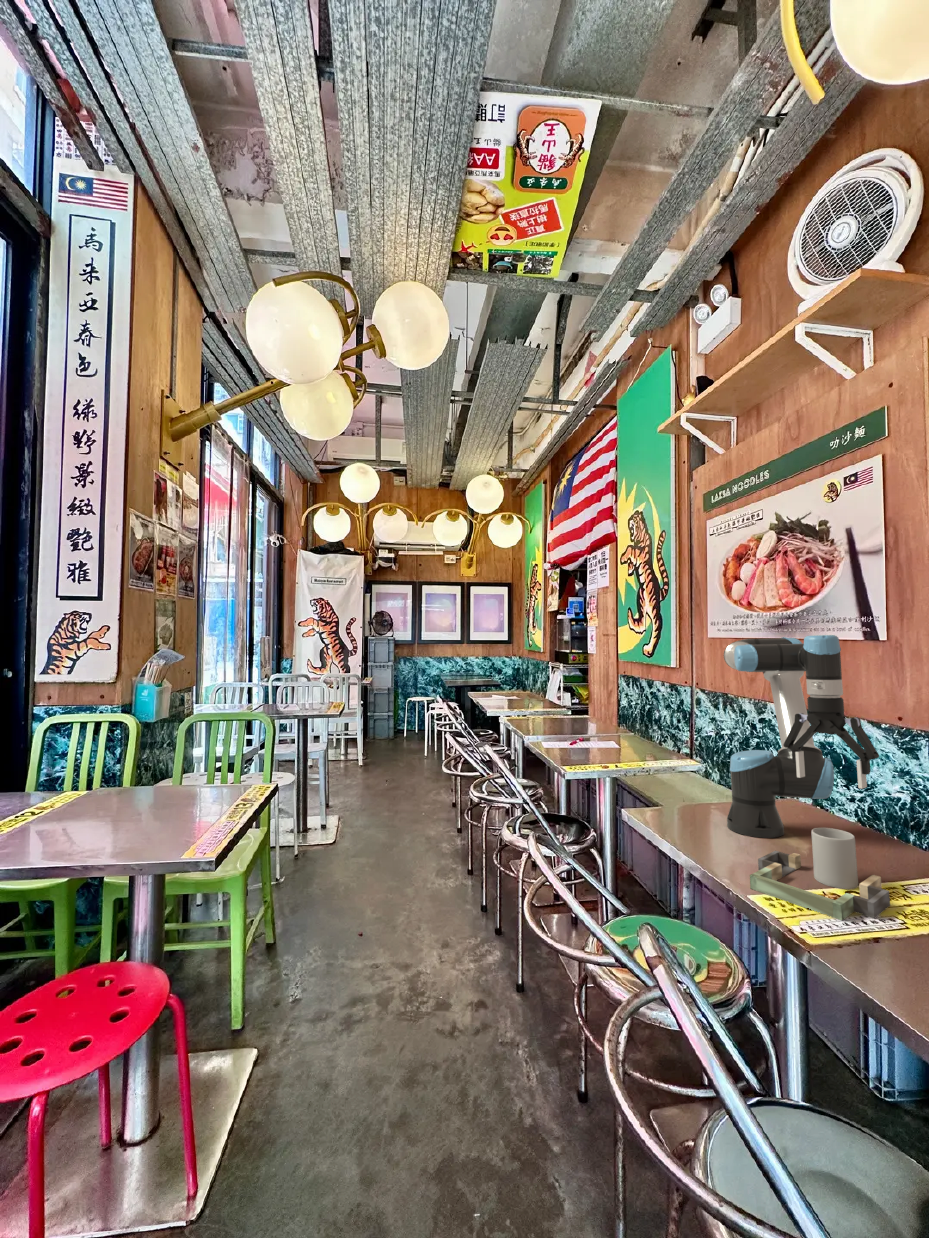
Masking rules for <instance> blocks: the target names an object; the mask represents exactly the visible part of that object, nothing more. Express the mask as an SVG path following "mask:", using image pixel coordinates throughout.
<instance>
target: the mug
mask: <svg viewBox="0 0 929 1238" xmlns="http://www.w3.org/2000/svg"><path fill="white" fill-rule="evenodd" d="M811 844H812V845H811V848H812V861H813V862H812V863H813V878H814V879H815V881H817V882H819V883H820V884H822V885H824V886H827V887H831V888H836V889H842V890H853V889H856V888H859V875H858V863H857V861H858V860H857V850H856V838H855V835H854V834H852V833H851V832H848V831H846V830H843V829H837V828H832V827H814V828H813V829H811Z"/></svg>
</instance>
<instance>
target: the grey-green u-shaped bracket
mask: <svg viewBox="0 0 929 1238" xmlns="http://www.w3.org/2000/svg"><path fill="white" fill-rule="evenodd" d="M757 865H758V867H757V868H758V870H757V871H756V872H755V871H754V872H753V873H751V874H749V884H750V885H749V886H750V890H753V891H756V892H758V893H762V894H764V895H768V896H770V897H774V898H777V899H779V900H781V901H784V902H787V901H788V903H790V904H793V905H797V906H800V907H802V908H804V909H807V908H809V909H808V910H810V909H811V910H810V911H813V910H814V911H813V912H816V911H817V912H816V913H819V912H820V913H819V914H821V915H824V914H827V915H828V917H830V916H831V918H834V919H836V920H838V921H843V920H845V919H846V918H847V917H849V916H851V915H852V914H853V913H856V914H860V915H862V916H865V917H868V918H870V919H871V918H872V919H876V918H877V917H878V916H879V915H881V914H882V913H883V912H884V911H886V910H887V909H888V908H889V907H890V906H891V902H890V901H891V897H890V891H889V890H887V889H883V888H882V887H883V886H882V877H881V876H880V875H875V874H872V875H870V876H869V877H867V878H866V879H865V880H863V881H861V882H860V883H858V888H859V896H858V895H855V894H851V893H849V892H848V893H847V892H846V893H844V894H843V895H841V896H840V897H838V898H836V899H833V898H829V897H827V896H823V895H820V894H817V893H815V892H811V891H808V890H805V889H802V888H800V887H796V886H793V885H789V884H786V883H784V882H780V881H778V880H780V879H782V878H784V877H785V876H787V875H789V874H791V873H793V872H795V871H797V870H798V869H800V868H802V861H801V854H799V853H795V852H793V853H790V854H789V853H785V852H781V851H779V850H774V851H772V852H769V853H767V854H765V855H763V856H761V857H759V858H757ZM827 915H826V916H827Z"/></svg>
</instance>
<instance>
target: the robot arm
mask: <svg viewBox="0 0 929 1238" xmlns="http://www.w3.org/2000/svg"><path fill="white" fill-rule="evenodd" d="M841 650H842V648H841V646H840V639H839V637H838V636H837V635H835V634H834V635H832V634H827V635H826V634H825V635H823V634H822V635H821V634H820V635H819V634H818V635H807V636H805V637H804V638H803V642H802V641H801V640H800V639H798V638H796V637H785V636H784V637H774V638H771V637H770V638H768V637H767V638H744V639H740V640H737V641H734V642H731V643H730V644H728V645H727V646H726V647H725V649H724V651H723V659H724V662H725V664H726V665H727V666H728V667H730V668H731V669H733V670H736V671H738V672H746V673H763V678H764V679H765V680H766V681H768V682H769V683H770V684H769V685H770V688H771V694H772V695H771V696H772V701H773V705H774V711H775V715H776V716H775V717H776V722H777V726H778V727H777V728H778V733H779V734H778V735H779V739H780V743H781V748H780V749H779V750H777V756H776V755H775V756H774V754H773V752H772V751H771V750H765V749H762V750H760V749H749V750H741V751H737V752H735V753H733V754H732V755H731V756H730V765H729V771H730V781H731V803H730V808H729V811H728V814H727V817H726V827H727V828H728V829H729V830H730V831H732V832H734V833H737V834H740V835H743V836H747V837H754V838H762V839H765V838H767V839H768V838H769V839H770V838H771V839H772V838H779V837H783V836H784V835H785V829H784V828H785V826H784V824H783V821H782V818H781V816H780V815H781V814H780V813H779V811H778V808H777V804H776V797H781V798H782V797H783V798H784V797H785V798H798V799H810V800H814V799H816V800H818V799H819V800H821V799H822V800H824V799H828V798H830V796H831V794H832V793H833V789H834V783H835V781H834V780H835V773H834V772H835V771H834V770H835V769H834V764H833V762H832V759H830V758H828V757H824V755H823V751H822V750H821V749H820V748H819V747H817V746H815V742H814V738H813V736H814V735H815V734H817V733H818V734H826V735H832V736H833V735H836V736H837V737H838V738H840V739H841V740H842V741H843V742H844V743H845V744H846V745H847V747H848V748H850V749H851V751H852V752H853V753H854V754H855V755H856V756H857V757H858V759H857V760H856V771H857V772H856V774H857V787H858V789H862V790H863V789H865V788H867V787H868V784H867V783H868V782H867V781H868V780H867V775H869V774H870V773H871V762H870V761H871V760H876V759H878V758H880V754H879V753H878V751H877V749H876V748H875V746H874V744H873V743H872V742H871V740H870V738H869V737H868V735H867V733H866V732H865V730H864V728H863V726H862V722H861V719H860V718H859V717H853V718H852V717H851V718H849V717H848V718H847V717H846V716H845V703H844V698H843V697H842V696H843V695H844V690H843V686H844V685H843V677H842V658H841ZM804 672H805V673H804ZM803 676H805V677H806V678H805V679H806V681H805V682H806V694H807V695H809V696H807V699H805V697H804V692H803V687H802V682H801V678H802V677H803ZM805 700H806V701H807V706H806V701H805ZM846 724H847V725H848V726H849V728H851V729H852V731H853V733H854V735H855V737H856V738H857V740H858V742H859V743H860V744H859V743H858V742H857V740H856V739H854V737H853V736H851V734H849V733H850V732H849V731H848V729H846V728H845V726H846Z"/></svg>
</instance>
